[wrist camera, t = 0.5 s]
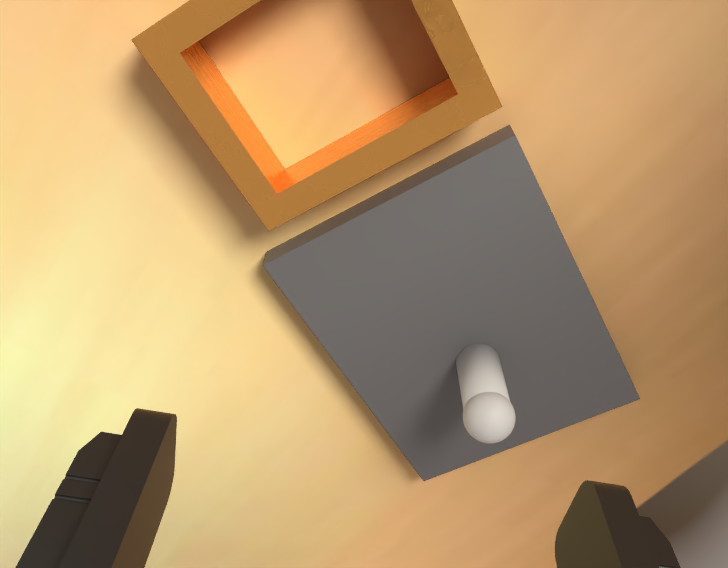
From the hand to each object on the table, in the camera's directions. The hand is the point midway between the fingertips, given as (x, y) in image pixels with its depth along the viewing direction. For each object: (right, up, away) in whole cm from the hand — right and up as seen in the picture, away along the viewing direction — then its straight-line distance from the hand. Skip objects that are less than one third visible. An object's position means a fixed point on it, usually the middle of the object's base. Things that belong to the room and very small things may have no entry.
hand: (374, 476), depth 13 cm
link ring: (-2, +14, +17) cm, 22 cm away
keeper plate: (+5, +2, +25) cm, 25 cm away
